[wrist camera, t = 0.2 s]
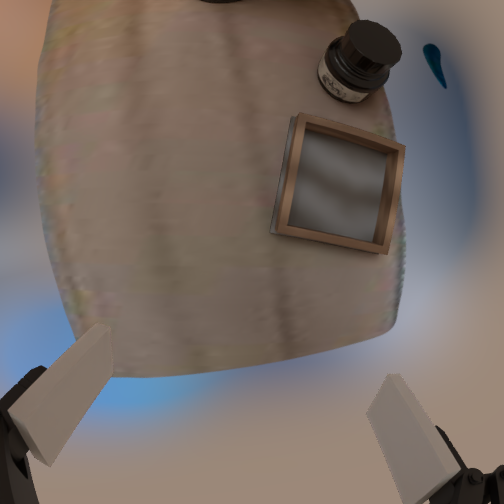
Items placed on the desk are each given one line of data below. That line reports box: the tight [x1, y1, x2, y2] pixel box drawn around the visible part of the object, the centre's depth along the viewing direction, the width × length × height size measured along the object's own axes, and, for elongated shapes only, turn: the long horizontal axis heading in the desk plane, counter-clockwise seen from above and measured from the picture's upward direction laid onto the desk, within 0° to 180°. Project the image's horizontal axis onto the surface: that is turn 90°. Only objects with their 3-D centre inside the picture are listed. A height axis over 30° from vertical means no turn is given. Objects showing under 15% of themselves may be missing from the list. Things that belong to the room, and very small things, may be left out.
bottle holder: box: [270, 113, 406, 255], centre depth 34 cm, size 16×16×4 cm
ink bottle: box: [317, 20, 402, 103], centre depth 27 cm, size 10×9×12 cm
